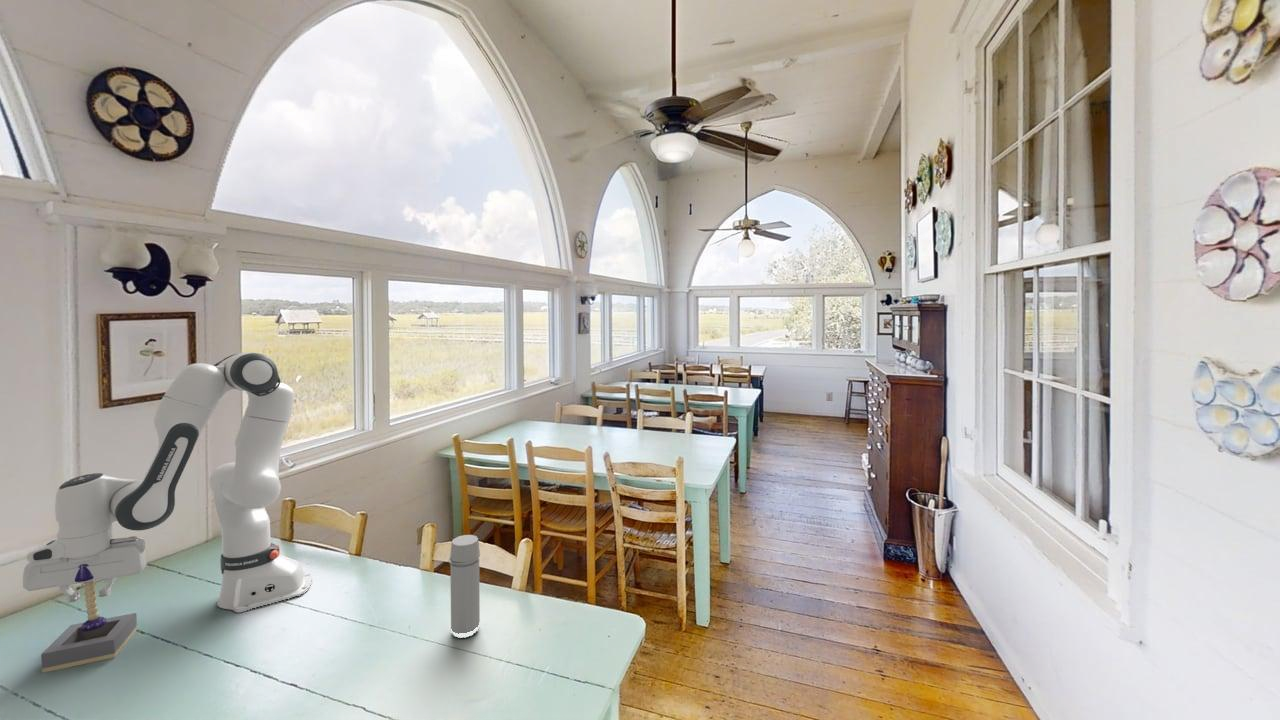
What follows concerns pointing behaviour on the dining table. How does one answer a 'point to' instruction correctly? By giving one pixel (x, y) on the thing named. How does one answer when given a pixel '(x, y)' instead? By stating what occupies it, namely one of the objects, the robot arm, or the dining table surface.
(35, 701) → the dining table surface
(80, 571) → the toy lamp
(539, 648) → the dining table surface
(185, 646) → the dining table surface
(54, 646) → the socket block
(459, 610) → the water bottle
